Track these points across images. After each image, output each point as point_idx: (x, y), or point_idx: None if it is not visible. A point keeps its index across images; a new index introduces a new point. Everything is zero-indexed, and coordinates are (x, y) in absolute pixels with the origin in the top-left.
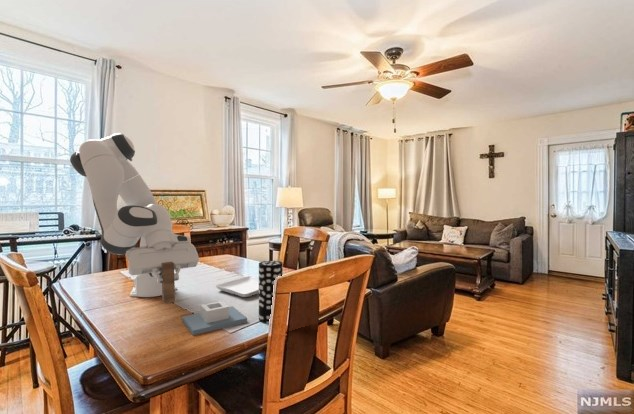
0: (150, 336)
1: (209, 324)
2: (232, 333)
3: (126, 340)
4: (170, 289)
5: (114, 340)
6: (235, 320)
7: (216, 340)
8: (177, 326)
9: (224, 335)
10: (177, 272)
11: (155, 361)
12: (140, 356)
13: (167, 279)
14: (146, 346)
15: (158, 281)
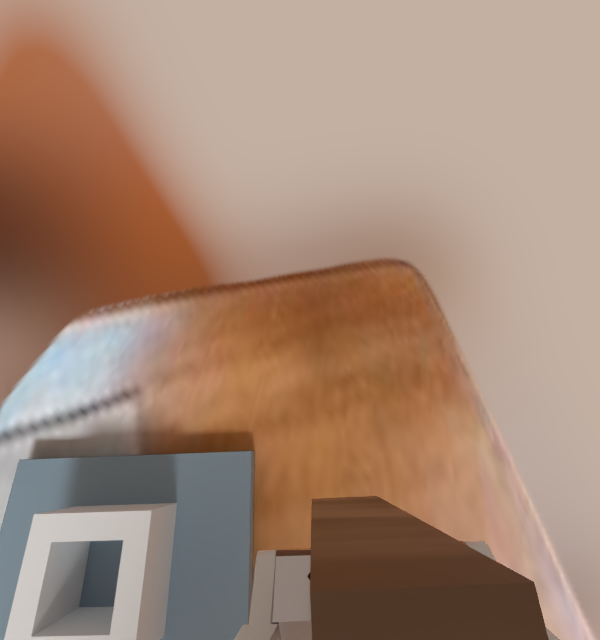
0: None
1: (174, 480)
2: (134, 386)
3: None
4: (345, 508)
5: (554, 601)
6: (71, 459)
7: (201, 361)
8: None
9: (163, 385)
10: (255, 631)
11: (388, 322)
12: (431, 378)
13: (385, 522)
14: (417, 448)
15: (476, 543)
